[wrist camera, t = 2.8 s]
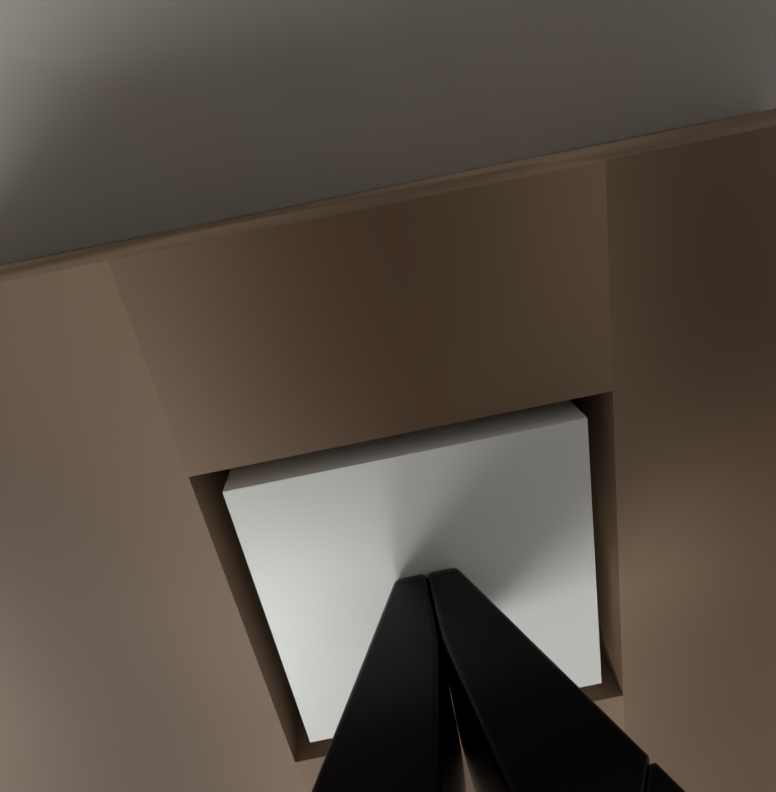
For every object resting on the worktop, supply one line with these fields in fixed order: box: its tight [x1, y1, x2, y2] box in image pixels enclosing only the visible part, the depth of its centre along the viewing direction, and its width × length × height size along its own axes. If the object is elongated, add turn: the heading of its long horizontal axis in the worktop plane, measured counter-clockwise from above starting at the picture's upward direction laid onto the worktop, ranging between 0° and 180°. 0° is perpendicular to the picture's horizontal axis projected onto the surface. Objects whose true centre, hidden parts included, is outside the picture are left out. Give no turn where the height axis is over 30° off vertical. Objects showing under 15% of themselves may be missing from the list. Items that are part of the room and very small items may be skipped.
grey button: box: [222, 400, 602, 743], centre depth 9 cm, size 4×4×4 cm
